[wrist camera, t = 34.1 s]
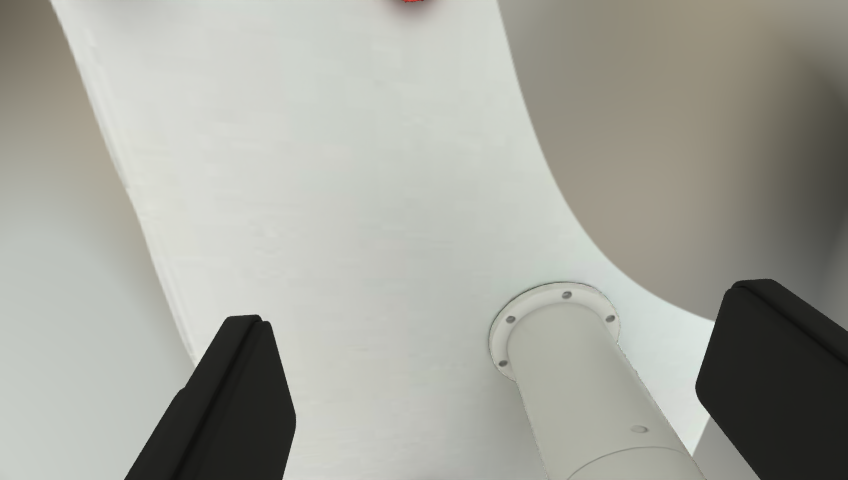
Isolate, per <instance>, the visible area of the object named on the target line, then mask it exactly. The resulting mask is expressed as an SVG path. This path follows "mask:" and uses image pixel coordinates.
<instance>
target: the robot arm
mask: <svg viewBox="0 0 848 480" xmlns="http://www.w3.org/2000/svg"><path fill="white" fill-rule="evenodd" d="M619 335H620V321H619V316H618V314H617V312H616V310H615V308H614V306H613V305H612V304H611V302H610V301H609V300H608V299H607V298H606V297H605V296H604V295H603V294H602V293H601V292H599V291H597V290H596V289H594V288H592V287H589V286H586V285H583V284H578V283H569V282H565V283H553V284H548V285H543V286H540V287H537V288H534V289H531V290H529V291H527V292H525V293H523V294H522V295H520V296H518V297H517V298H515V299H514V300H513V301H511V302H510V303H509V304H508V305H507V306H506V307H505V308H504V309H503V310H502V311H501V312H500V313H499V315H498V316H497V318H496V319H495V321H494V323H493V326H492V328H491V331H490V336H489V347H490V352H491V356H492V359H493V362H494V364H495V366H496V367H497V368H498V369H499V371H500V372H501V373H502V374H503V375H505V376H506V377H507V378H509V379H510V380H512V381H515V382H517V385H518V388H519V391H520V395H521V398H522V401H523V404H524V407H525V410H526V413H527V416H528V419H529V422H530V426H531V429H532V432H533V435H534V438H535V441H536V444H537V447H538V450H539V453H540V457H541V460H542V463H543V466H544V469H545V472H546V475H547V478H548V480H707V479H706V478H705V477H704V475H703V473H702V472H701V470H700V469H699V467H698V466H697V464H696V463H695V461H694V460H693V458H692V457H691V455H690V454H689V452H688V451H687V449H686V448H685V446H684V445H683V443H682V442H681V440H680V438H679V437H678V435H677V434H676V432H675V431H674V429H673V428H672V426H671V425H670V423H669V422H668V420H667V419H666V417H665V416H664V414H663V413H662V411H661V409H660V408H659V406H658V405H657V403H656V402H655V400H654V399H653V397H652V396H651V394H650V393H649V391H648V390H647V388H646V387H645V385H644V384H643V382H642V380H641V379H640V377H639V376H638V373H637V371H636V370H635V369H634V368H633V367H632V365H631V364H630V362H629V361H628V359H627V358H626V356H625V355H624V353H623V351H622V350H621V348H620V347H619V345H618V344H617V341H618V338H619ZM695 389H696V394H697V397H698V399H699V401H700V402H701V404H702V405H703V406H704V408H705V409H706V410H707V411H708V413H709V414H710V415H711V417H712V418H713V419H714V420H715V422H716V423H717V424H718V426H719V427H720V428H721V429H722V431H723V432H724V433H725V435H726V436H727V437H728V438H729V440H730V441H731V442H732V443H733V445H734V446H735V447H736V449H737V450H738V451H739V453H740V454H741V455H742V456H743V458H744V459H745V460H746V461H747V463H748V464H749V465H750V467H751V468H752V469H753V471H754V472H755V473H756V474H757V476H758V477H759V478H760V479H761V480H848V331H846V330H845V329H844V328H842V327H841V326H839V325H838V324H836V323H835V322H833V321H832V320H831V319H829V318H828V317H826V316H825V315H823V314H822V313H821V312H819V311H818V310H816V309H815V308H814V307H812V306H811V305H809V304H808V303H806V302H805V301H803V300H802V299H800V298H799V297H798V296H796V295H795V294H793V293H792V292H791V291H789V290H788V289H786V288H785V287H783V286H782V285H781V284H779V283H778V282H776V281H774V280H772V279H757V280H742V281H738V282H736V283H735V284H733V286H732V287H731V289H728V290H727V291H726V293H725V295H724V298H723V300H722V304H721V307H720V310H719V313H718V316H717V319H716V322H715V325H714V328H713V331H712V334H711V338H710V341H709V344H708V347H707V350H706V353H705V356H704V359H703V362H702V365H701V368H700V372H699V375H698V378H697V381H696V385H695ZM295 428H296V414H295V410H294V406H293V403H292V399H291V395H290V392H289V388H288V385H287V381H286V377H285V374H284V370H283V366H282V363H281V359H280V356H279V352H278V348H277V345H276V341H275V337H274V334H273V330H272V327H271V324H270V323H269V322H268V321H262V319H261V317H260V316H259V315H242V316H230V317H227V318H226V319H225V321H224V322H223V324H222V326H221V327H220V329H219V331H218V332H217V334H216V336H215V337H214V339H213V341H212V342H211V344H210V346H209V347H208V349H207V351H206V352H205V354H204V356H203V357H202V359H201V361H200V362H199V364H198V366H197V367H196V369H195V371H194V372H193V374H192V376H191V377H190V379H189V381H188V383H187V384H186V386H185V387H184V388H183V389H181V390H180V391H179V392H178V393H177V395H176V396H175V397H174V399H173V400H172V402H171V404H170V405H169V407H168V408H167V410H166V412H165V413H164V415H163V417H162V418H161V420H160V422H159V423H158V425H157V426H156V428H155V430H154V431H153V433H152V435H151V436H150V438H149V440H148V441H147V443H146V445H145V446H144V448H143V450H142V451H141V453H140V454H139V456H138V458H137V459H136V461H135V463H134V464H133V466H132V468H131V469H130V471H129V472H128V474H127V476H126V477H125V479H124V480H282V479H283V475H284V471H285V467H286V463H287V460H288V456H289V452H290V448H291V445H292V441H293V437H294V433H295Z"/></svg>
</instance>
